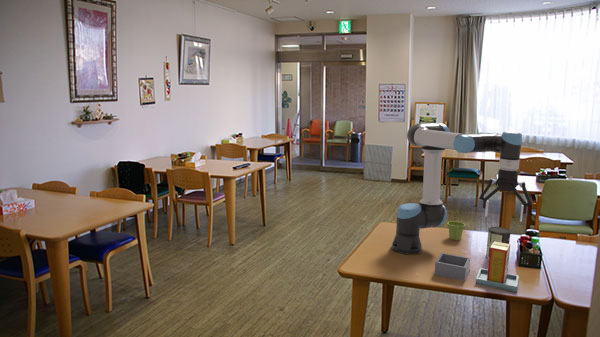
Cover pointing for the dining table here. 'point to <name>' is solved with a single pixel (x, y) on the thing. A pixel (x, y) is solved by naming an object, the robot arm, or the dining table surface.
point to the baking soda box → (498, 262)
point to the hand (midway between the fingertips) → (503, 218)
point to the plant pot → (455, 230)
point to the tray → (509, 284)
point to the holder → (452, 266)
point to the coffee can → (497, 237)
